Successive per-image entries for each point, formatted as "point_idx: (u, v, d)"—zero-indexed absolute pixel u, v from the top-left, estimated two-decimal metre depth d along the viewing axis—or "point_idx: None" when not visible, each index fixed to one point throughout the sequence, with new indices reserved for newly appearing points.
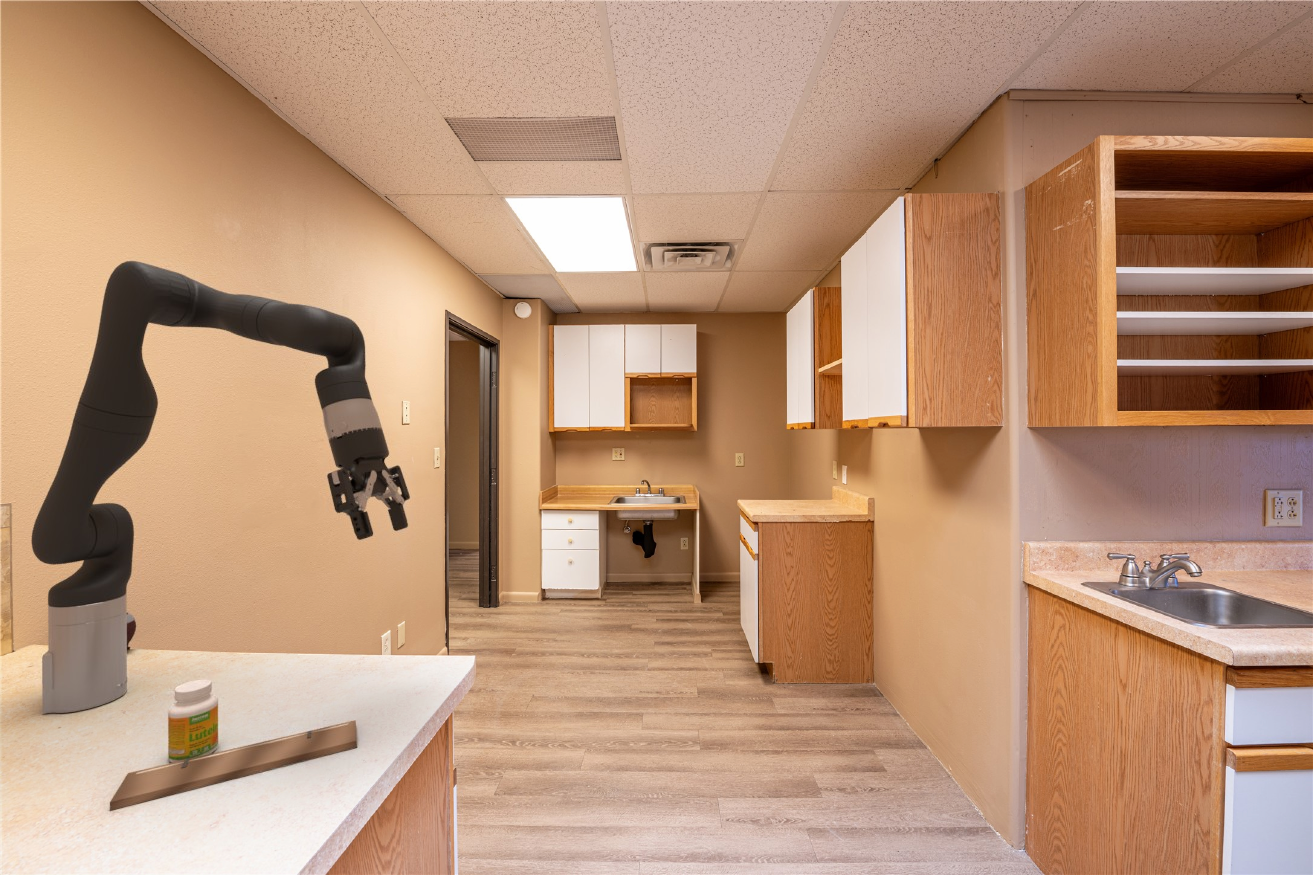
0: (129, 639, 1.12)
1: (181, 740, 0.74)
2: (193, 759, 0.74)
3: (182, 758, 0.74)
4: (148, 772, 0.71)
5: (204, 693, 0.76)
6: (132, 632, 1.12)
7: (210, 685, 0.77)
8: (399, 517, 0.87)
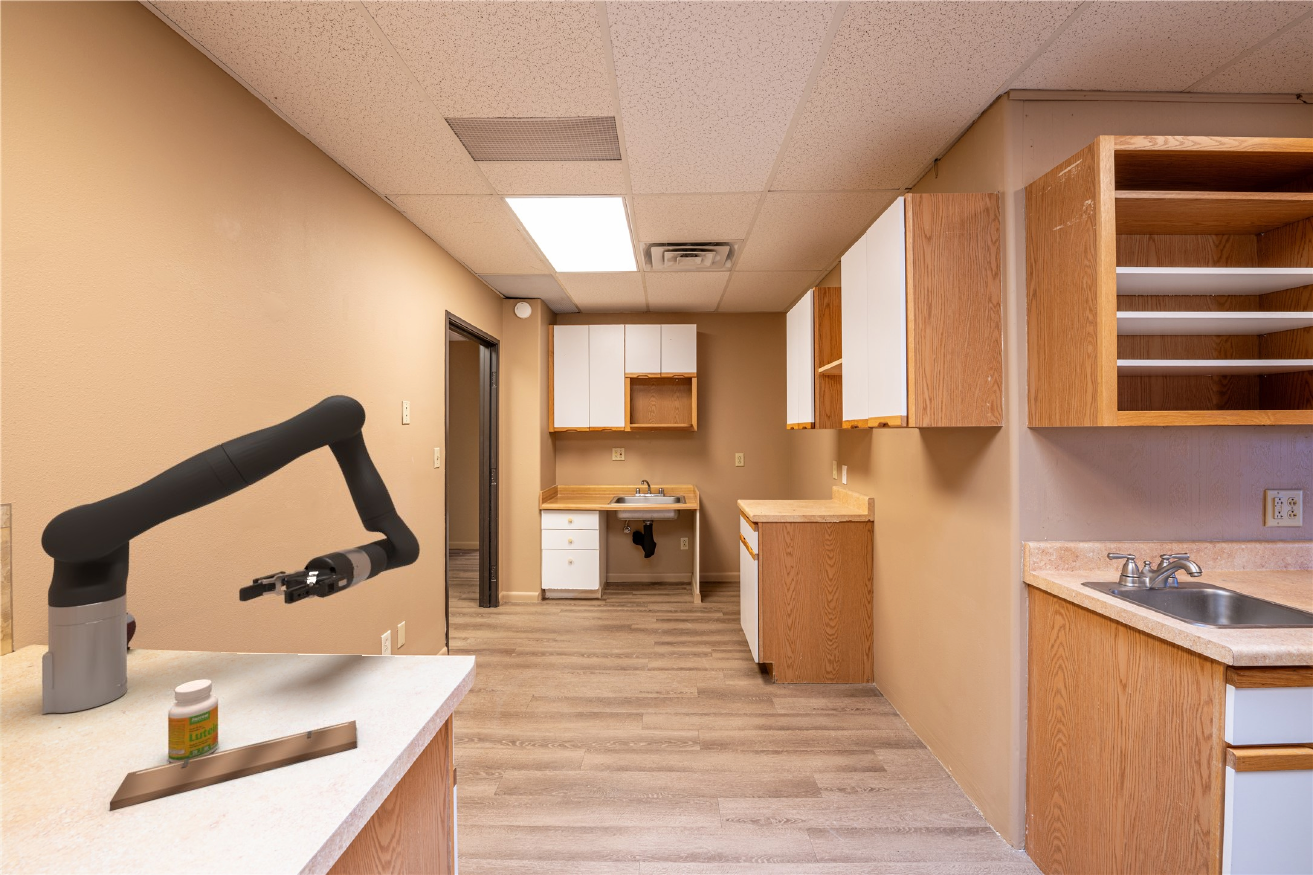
0: (129, 639, 1.12)
1: (181, 740, 0.74)
2: (193, 759, 0.74)
3: (182, 758, 0.74)
4: (148, 772, 0.71)
5: (205, 693, 0.76)
6: (132, 632, 1.12)
7: (210, 685, 0.77)
8: (253, 594, 0.90)
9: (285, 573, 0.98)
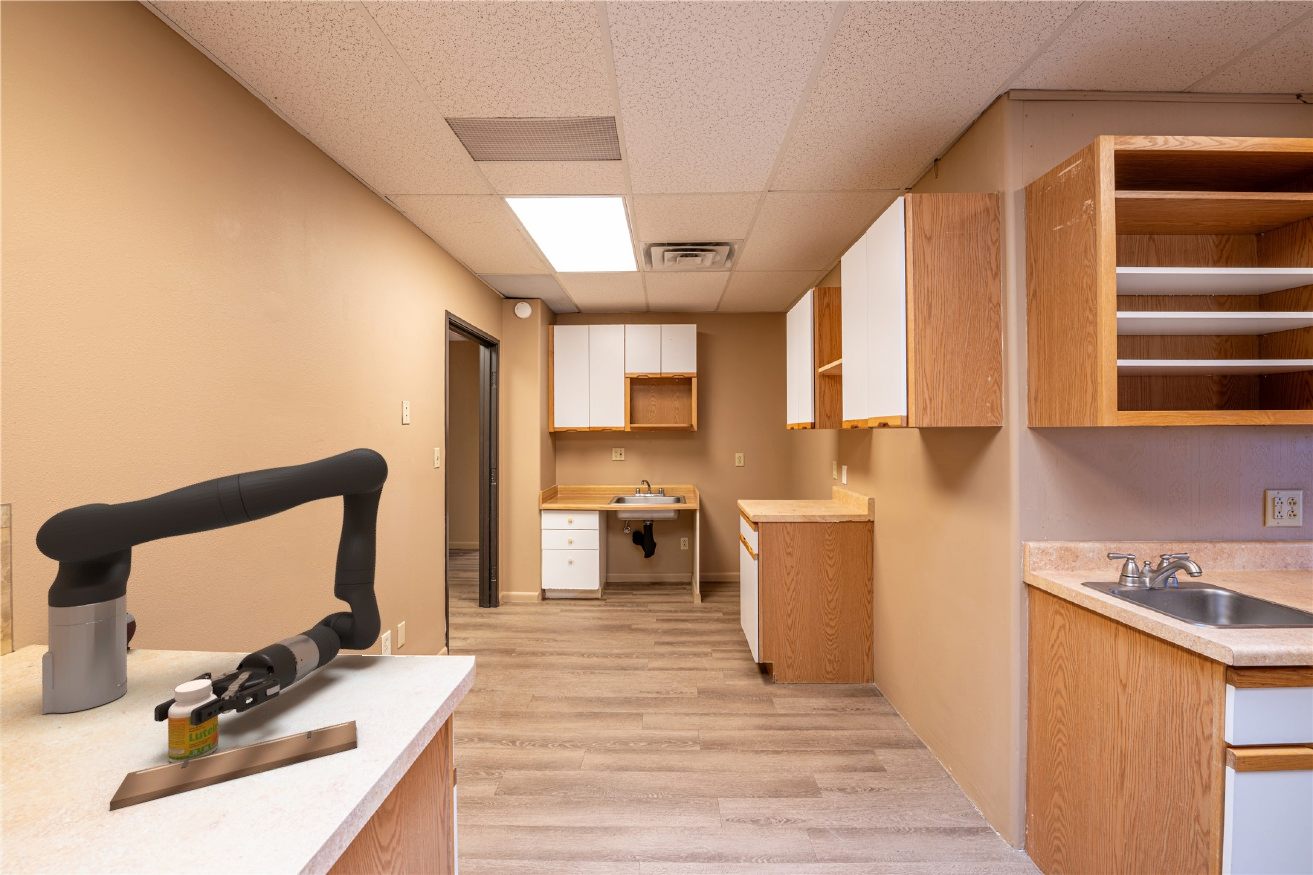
0: (129, 639, 1.12)
1: (181, 740, 0.74)
2: (193, 759, 0.74)
3: (182, 758, 0.74)
4: (148, 772, 0.71)
5: (204, 692, 0.76)
6: (132, 632, 1.12)
7: (210, 685, 0.77)
8: None
9: None
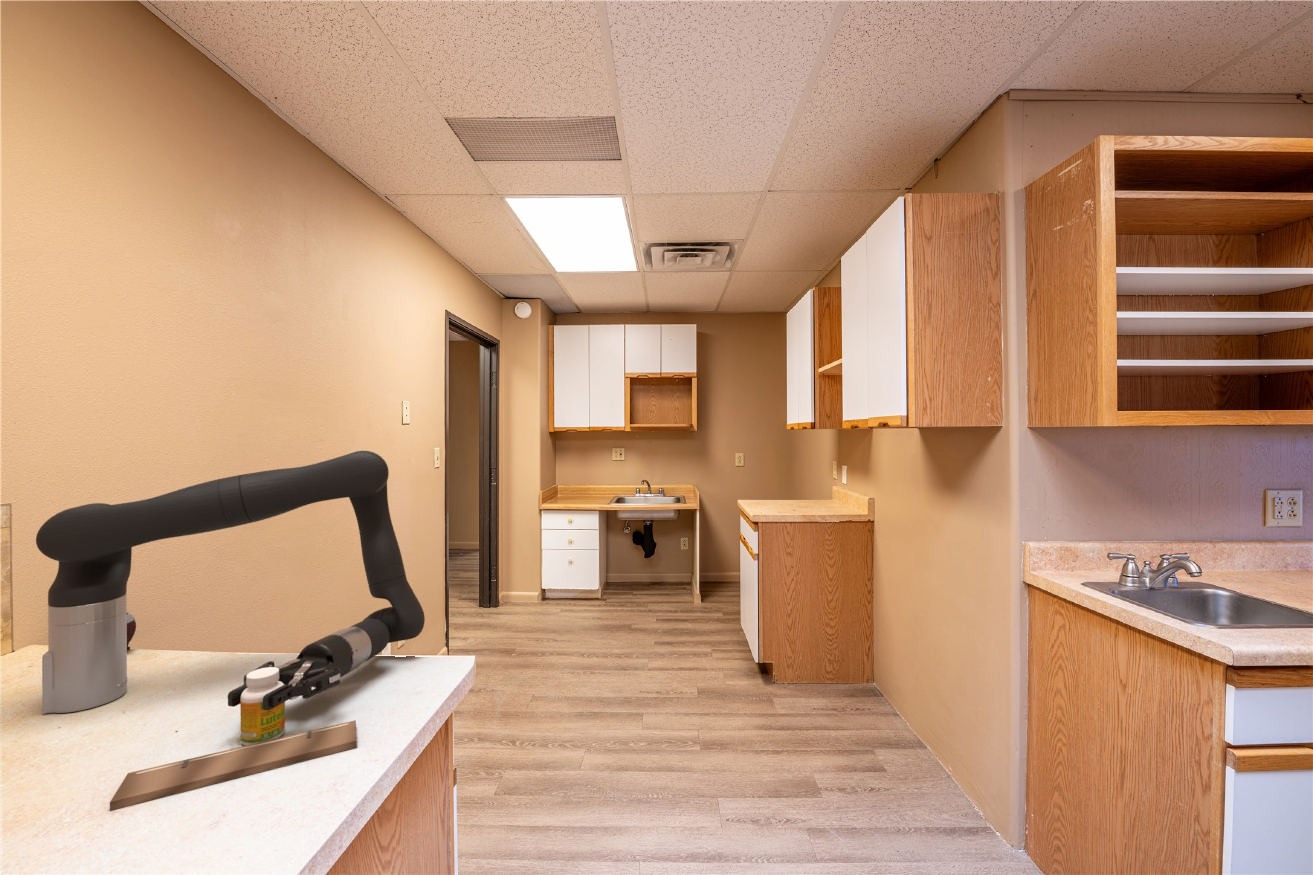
0: (129, 639, 1.12)
1: (254, 724, 0.78)
2: (193, 759, 0.74)
3: (254, 741, 0.78)
4: (148, 772, 0.71)
5: (274, 679, 0.80)
6: (132, 632, 1.12)
7: (278, 672, 0.81)
8: None
9: None
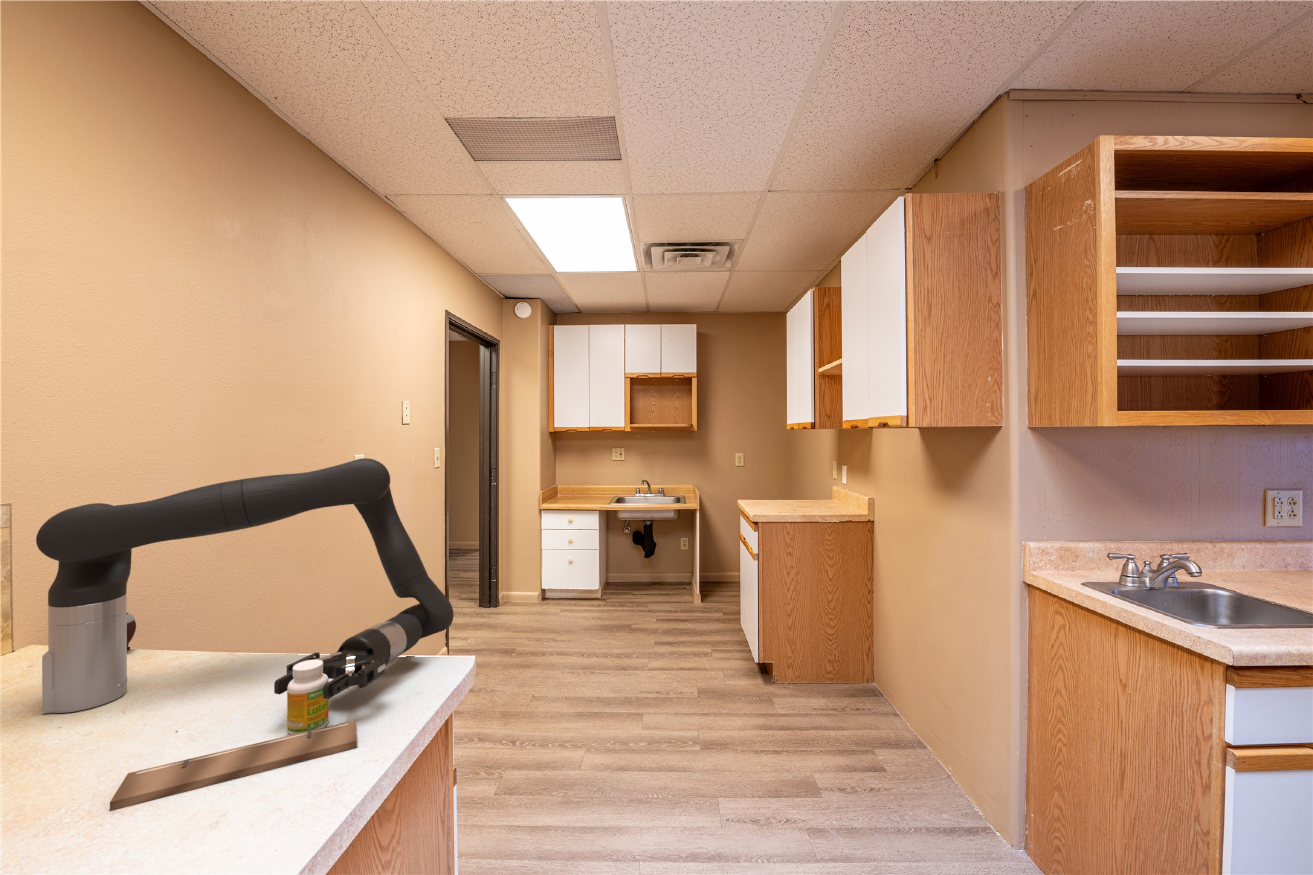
0: (129, 639, 1.12)
1: (301, 714, 0.81)
2: (193, 759, 0.74)
3: (301, 730, 0.81)
4: (148, 772, 0.71)
5: (319, 671, 0.83)
6: (132, 632, 1.12)
7: (322, 664, 0.84)
8: None
9: (319, 655, 0.93)
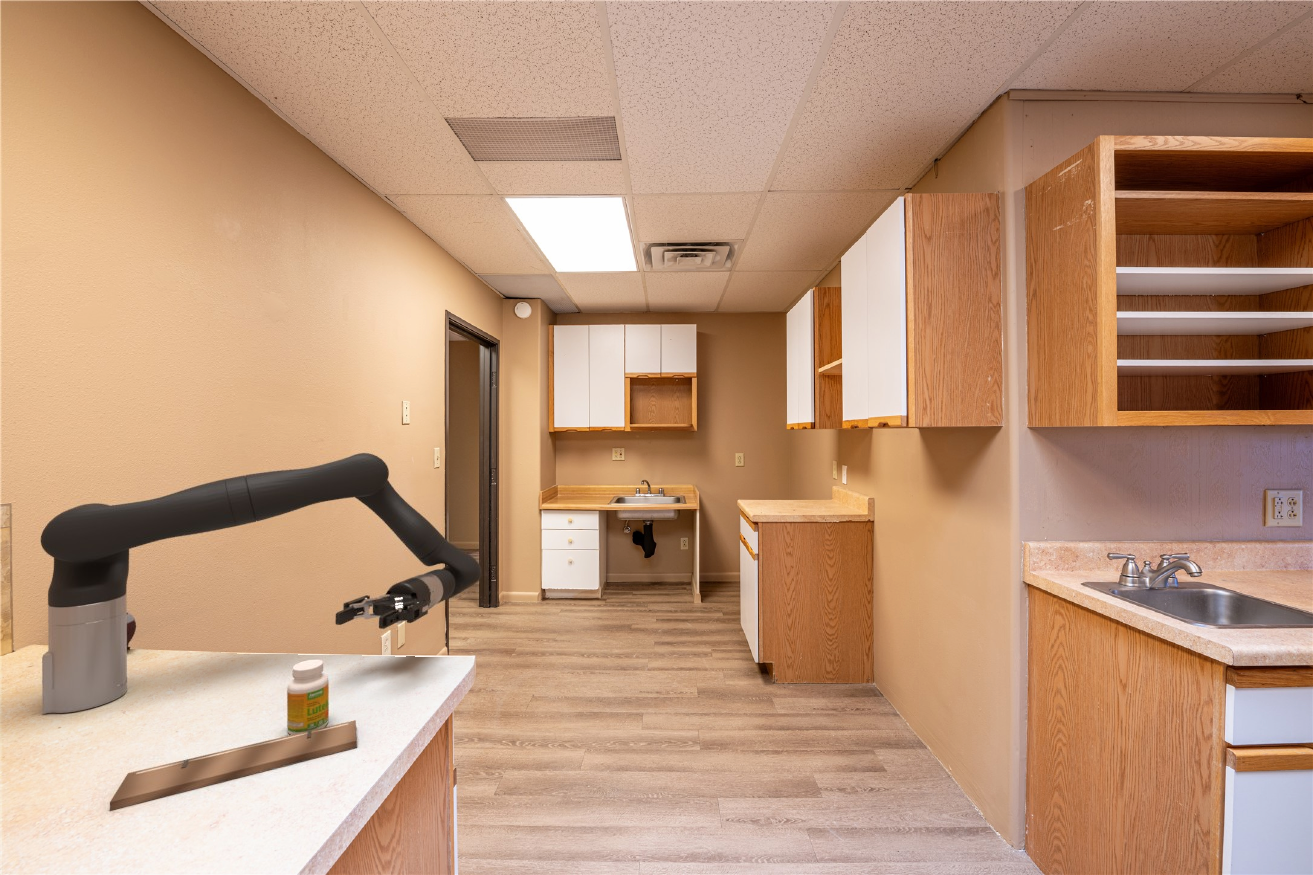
0: (129, 639, 1.12)
1: (301, 714, 0.81)
2: (193, 759, 0.74)
3: (301, 730, 0.81)
4: (148, 772, 0.71)
5: (319, 671, 0.83)
6: (132, 632, 1.12)
7: (322, 664, 0.84)
8: (346, 618, 0.97)
9: (369, 597, 1.05)
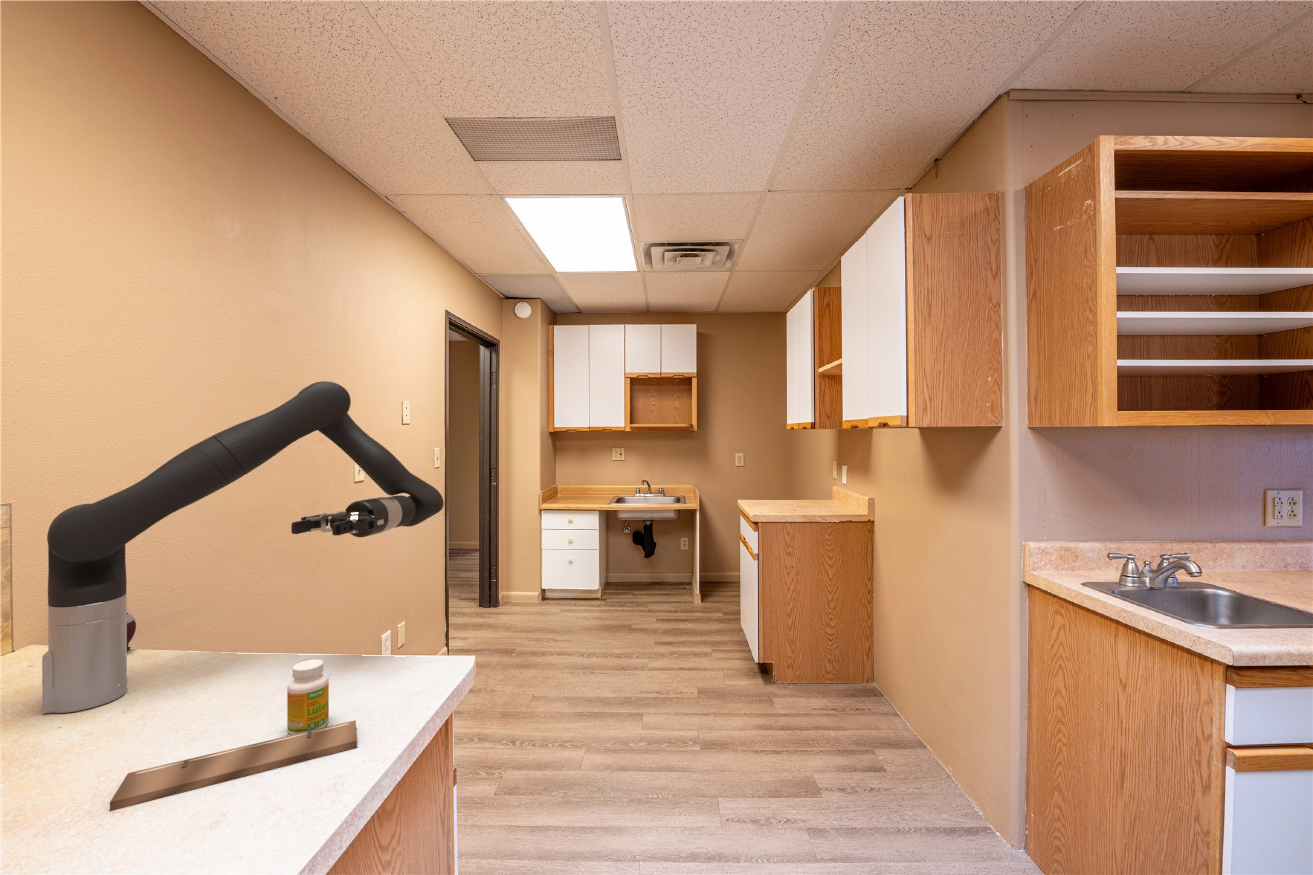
0: (129, 639, 1.12)
1: (301, 714, 0.81)
2: (193, 759, 0.74)
3: (301, 730, 0.81)
4: (148, 772, 0.71)
5: (319, 671, 0.83)
6: (132, 632, 1.12)
7: (322, 664, 0.84)
8: (303, 529, 1.01)
9: None
